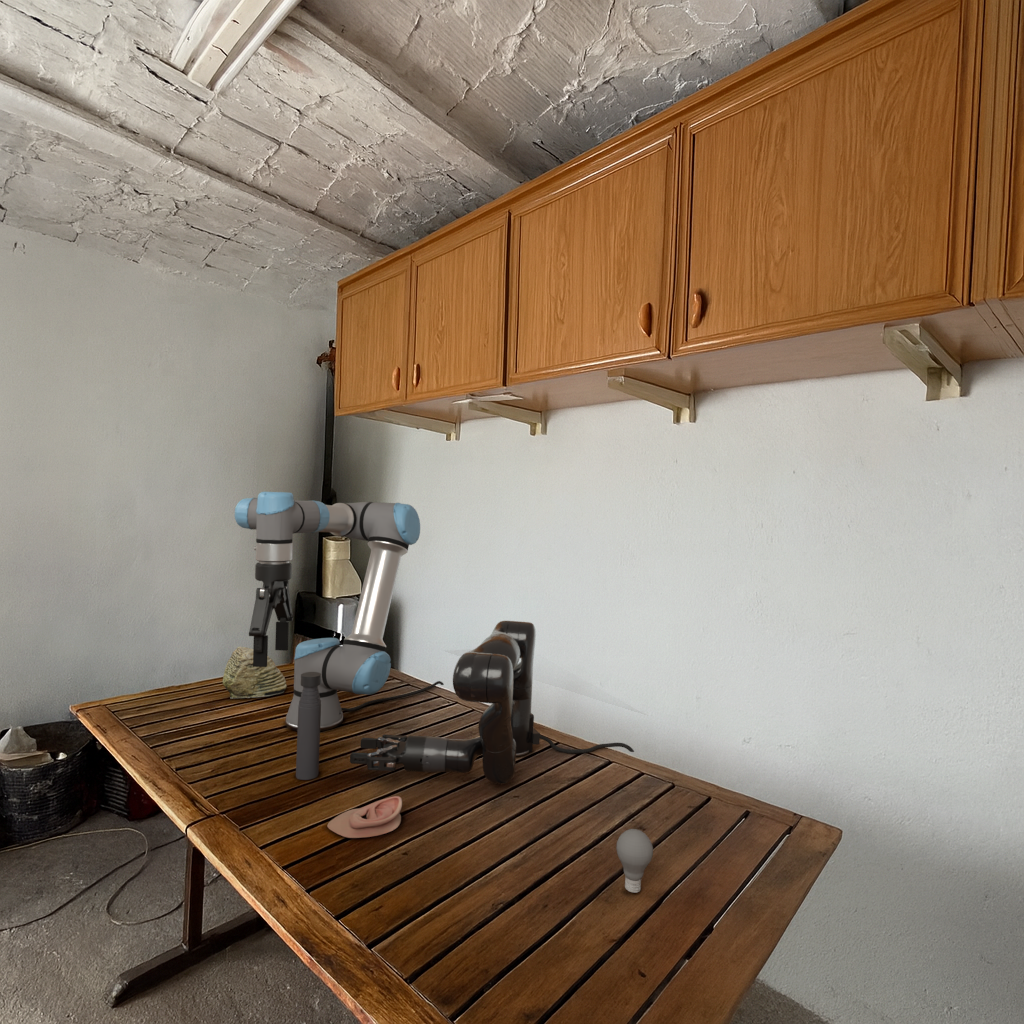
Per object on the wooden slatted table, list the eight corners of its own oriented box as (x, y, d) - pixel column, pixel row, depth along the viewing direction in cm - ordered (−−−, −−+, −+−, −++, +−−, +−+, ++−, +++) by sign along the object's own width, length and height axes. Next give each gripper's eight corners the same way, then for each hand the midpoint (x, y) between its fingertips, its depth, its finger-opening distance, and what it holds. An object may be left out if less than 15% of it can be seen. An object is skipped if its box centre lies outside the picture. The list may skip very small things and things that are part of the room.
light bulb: (610, 879, 108) (613, 822, 108) (644, 879, 109) (647, 822, 109) (619, 902, 102) (622, 840, 102) (655, 901, 103) (658, 840, 103)
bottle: (302, 782, 140) (306, 680, 140) (291, 774, 144) (295, 675, 143) (322, 775, 144) (326, 676, 143) (311, 768, 147) (315, 671, 147)
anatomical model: (320, 812, 119) (347, 786, 130) (319, 833, 119) (347, 805, 130) (386, 822, 116) (408, 795, 127) (385, 844, 116) (408, 814, 128)
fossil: (218, 695, 195) (220, 647, 195) (278, 685, 208) (279, 640, 207) (228, 703, 189) (230, 653, 188) (289, 692, 201) (290, 645, 201)
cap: (306, 688, 140) (306, 678, 140) (297, 683, 143) (297, 673, 143) (324, 684, 143) (324, 674, 143) (314, 680, 146) (315, 670, 146)
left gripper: (276, 555, 151) (273, 643, 152) (233, 568, 126) (230, 673, 127) (307, 556, 151) (305, 644, 152) (271, 569, 127) (268, 674, 127)
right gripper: (432, 726, 149) (364, 722, 150) (422, 750, 135) (347, 745, 136) (431, 757, 150) (363, 754, 150) (421, 784, 135) (345, 780, 136)
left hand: (271, 658), depth 140 cm, fingers open, 13 cm apart
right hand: (355, 750), depth 143 cm, fingers open, 8 cm apart
